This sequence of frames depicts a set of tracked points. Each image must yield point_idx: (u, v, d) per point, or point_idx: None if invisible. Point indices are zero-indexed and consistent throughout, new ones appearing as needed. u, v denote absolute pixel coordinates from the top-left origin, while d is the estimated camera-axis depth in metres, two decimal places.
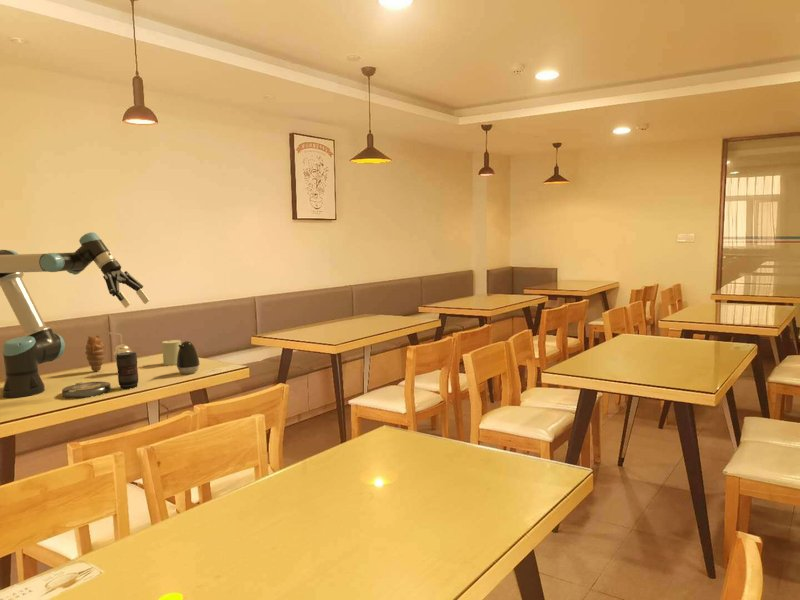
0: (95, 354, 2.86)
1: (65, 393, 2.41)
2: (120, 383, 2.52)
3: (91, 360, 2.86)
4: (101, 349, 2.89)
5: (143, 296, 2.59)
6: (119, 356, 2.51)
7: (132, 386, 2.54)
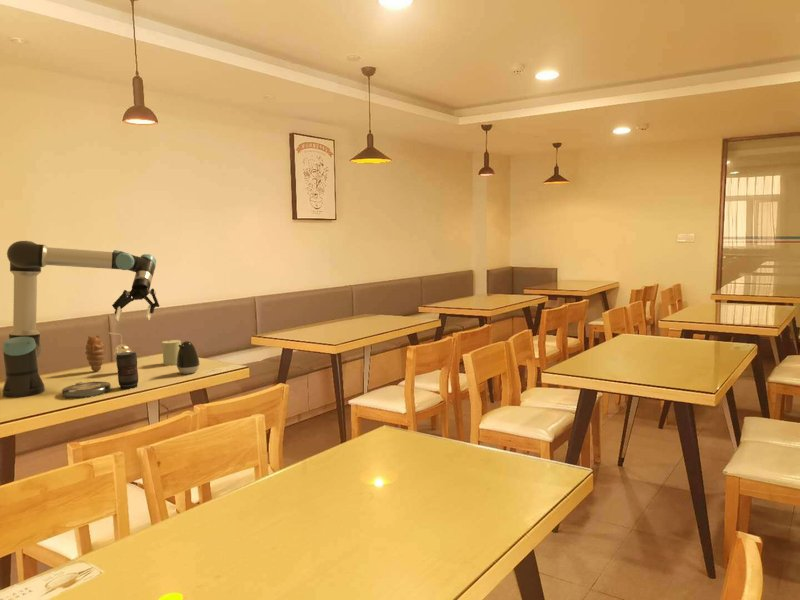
0: (95, 354, 2.86)
1: (65, 393, 2.41)
2: (120, 383, 2.52)
3: (91, 360, 2.86)
4: (101, 349, 2.89)
5: (119, 315, 2.64)
6: (119, 356, 2.51)
7: (132, 386, 2.54)
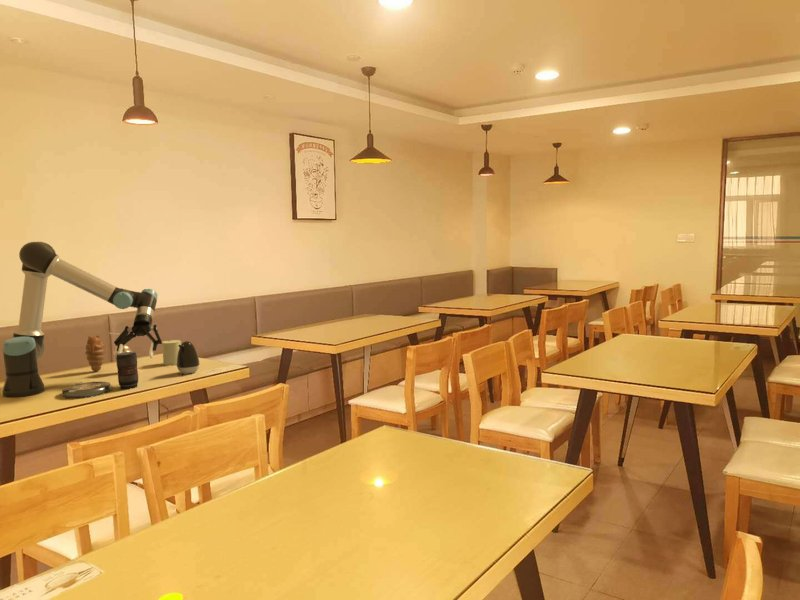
0: (95, 354, 2.86)
1: (65, 393, 2.41)
2: (120, 383, 2.52)
3: (91, 360, 2.86)
4: (101, 349, 2.89)
5: (121, 352, 2.62)
6: (119, 356, 2.51)
7: (132, 386, 2.54)
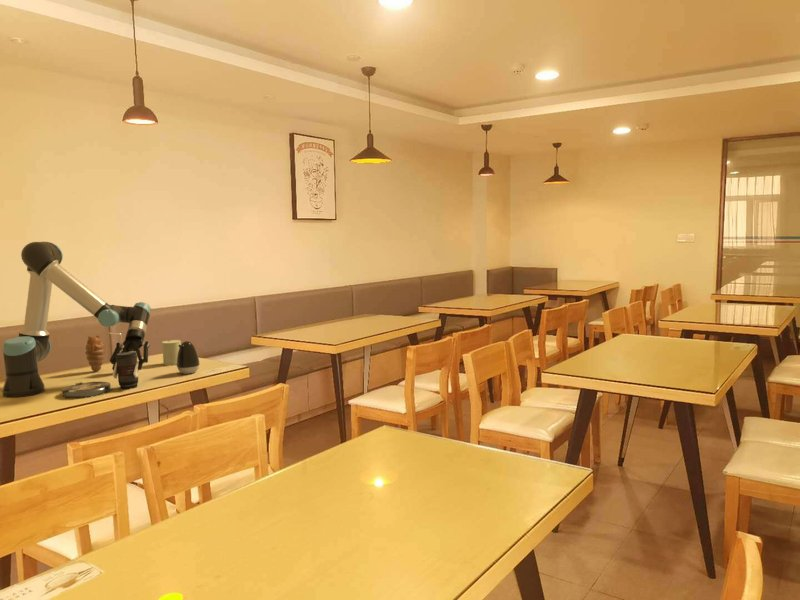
0: (95, 354, 2.86)
1: (65, 393, 2.41)
2: (120, 383, 2.52)
3: (91, 360, 2.86)
4: (101, 349, 2.89)
5: (117, 371, 2.54)
6: (119, 356, 2.51)
7: (132, 386, 2.54)
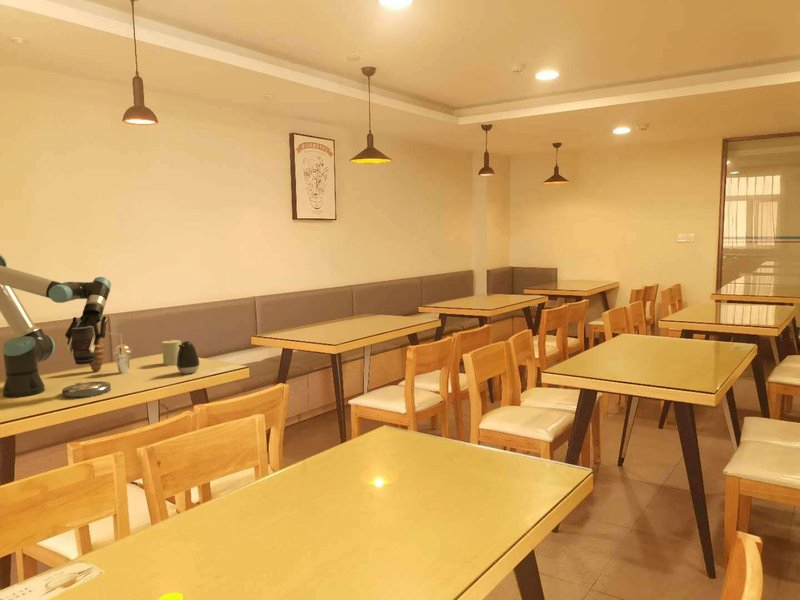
0: (95, 354, 2.86)
1: (65, 393, 2.41)
2: (75, 358, 2.44)
3: None
4: (101, 349, 2.89)
5: (72, 346, 2.46)
6: (74, 330, 2.43)
7: (88, 361, 2.45)
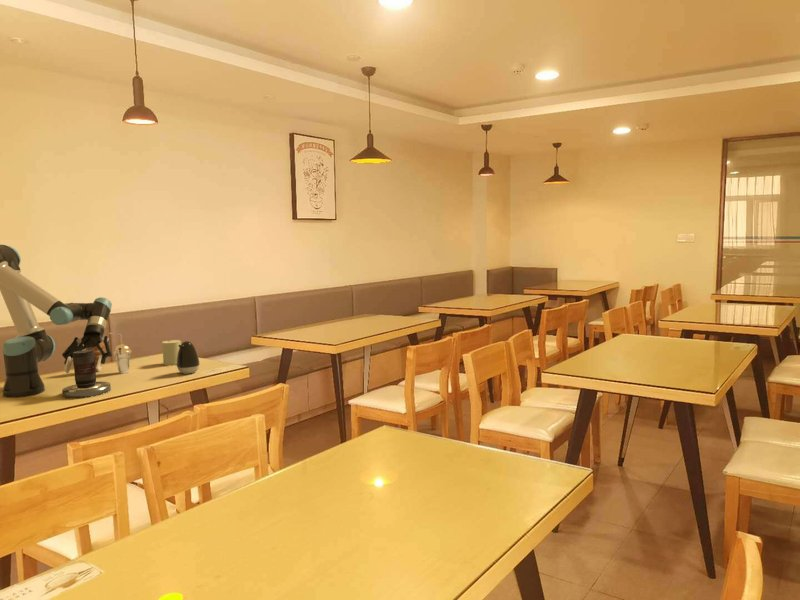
0: (95, 354, 2.86)
1: (65, 393, 2.41)
2: (76, 382, 2.45)
3: None
4: None
5: (69, 366, 2.47)
6: (75, 354, 2.44)
7: (89, 385, 2.46)
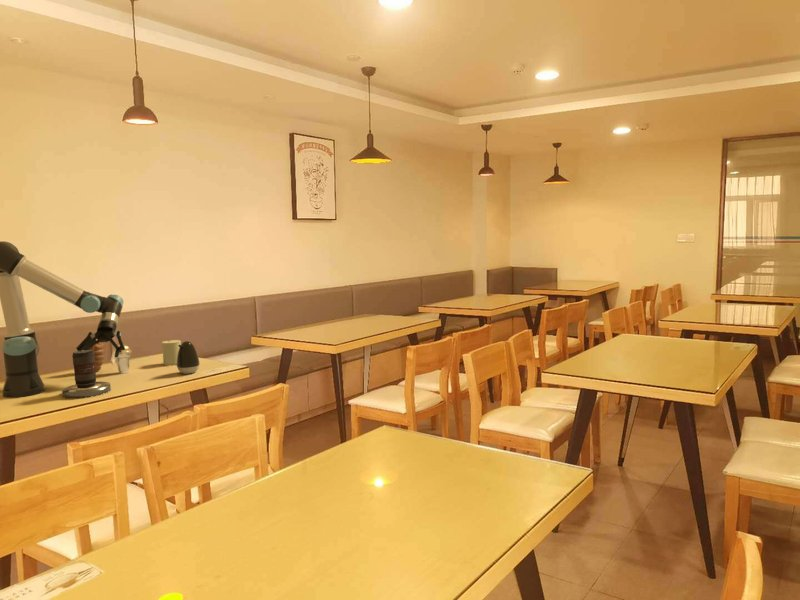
0: (95, 354, 2.86)
1: (65, 393, 2.41)
2: (76, 382, 2.45)
3: None
4: (101, 349, 2.89)
5: None
6: (75, 354, 2.44)
7: (89, 385, 2.46)
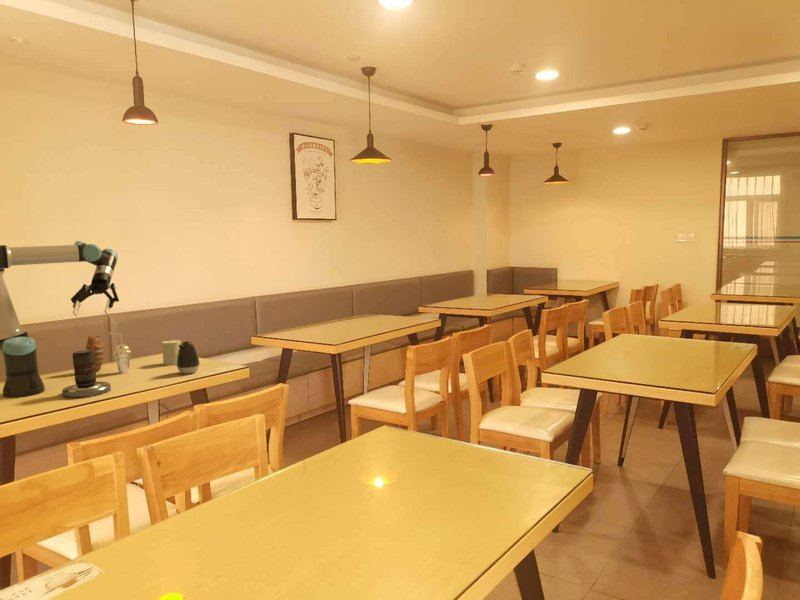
0: (95, 354, 2.86)
1: (65, 393, 2.41)
2: (76, 382, 2.45)
3: None
4: (101, 349, 2.89)
5: (77, 309, 2.63)
6: (75, 354, 2.44)
7: (89, 385, 2.46)
